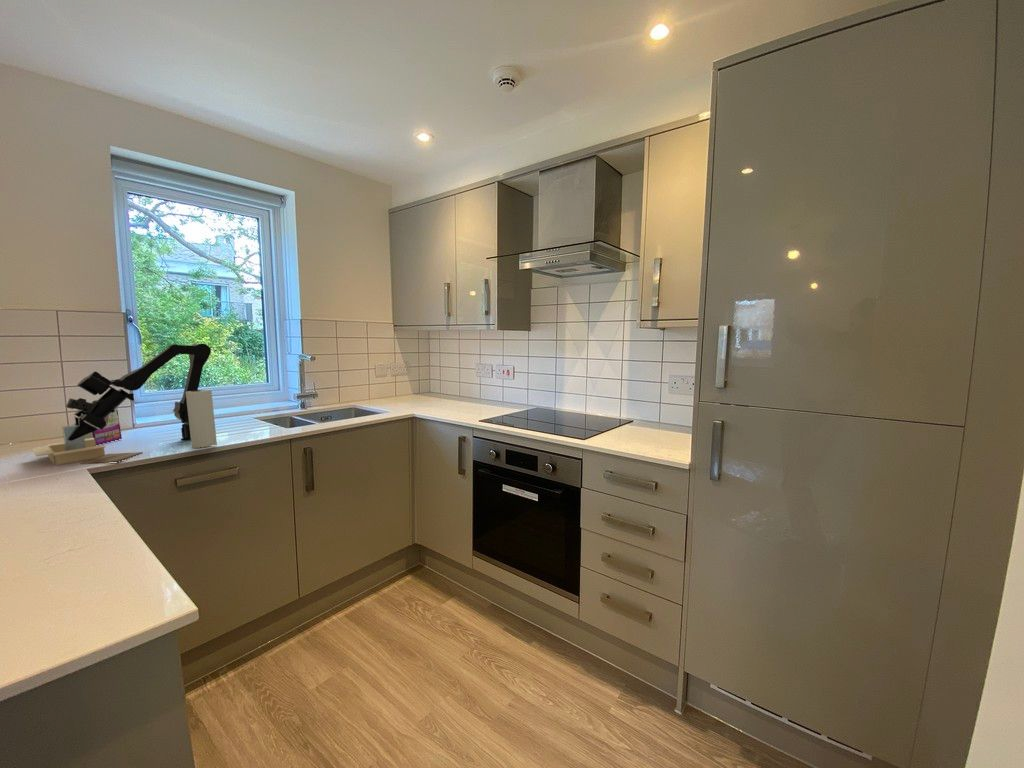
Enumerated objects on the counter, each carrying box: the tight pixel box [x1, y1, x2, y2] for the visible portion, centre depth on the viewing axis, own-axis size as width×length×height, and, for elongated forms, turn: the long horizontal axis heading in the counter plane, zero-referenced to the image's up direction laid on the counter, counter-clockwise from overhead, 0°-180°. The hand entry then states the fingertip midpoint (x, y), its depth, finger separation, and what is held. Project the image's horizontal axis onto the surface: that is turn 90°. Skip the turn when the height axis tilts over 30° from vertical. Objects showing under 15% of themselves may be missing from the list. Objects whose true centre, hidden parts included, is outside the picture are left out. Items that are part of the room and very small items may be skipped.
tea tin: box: [61, 424, 86, 451], centre depth 145 cm, size 5×5×11 cm
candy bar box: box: [77, 407, 123, 446], centre depth 166 cm, size 11×5×16 cm, turn 179°
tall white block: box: [186, 389, 218, 449], centre depth 157 cm, size 7×6×21 cm
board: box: [80, 451, 143, 465], centre depth 143 cm, size 11×11×1 cm
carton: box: [31, 438, 106, 466], centre depth 147 cm, size 22×23×4 cm
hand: (68, 439), depth 144 cm, fingers closed on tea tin, 4 cm apart
